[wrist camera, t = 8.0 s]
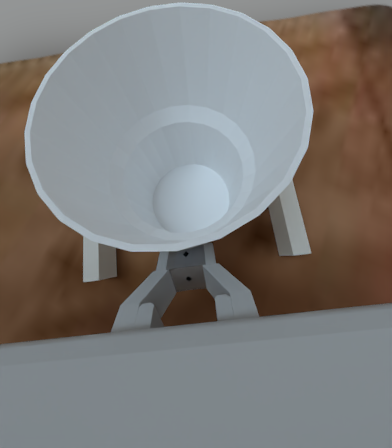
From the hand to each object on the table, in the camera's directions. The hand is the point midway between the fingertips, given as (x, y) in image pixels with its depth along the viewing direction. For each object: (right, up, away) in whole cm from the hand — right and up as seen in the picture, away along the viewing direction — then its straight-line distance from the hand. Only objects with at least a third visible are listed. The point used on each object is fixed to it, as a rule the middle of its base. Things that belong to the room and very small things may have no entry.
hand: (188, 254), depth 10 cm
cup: (0, +4, +6) cm, 7 cm away
